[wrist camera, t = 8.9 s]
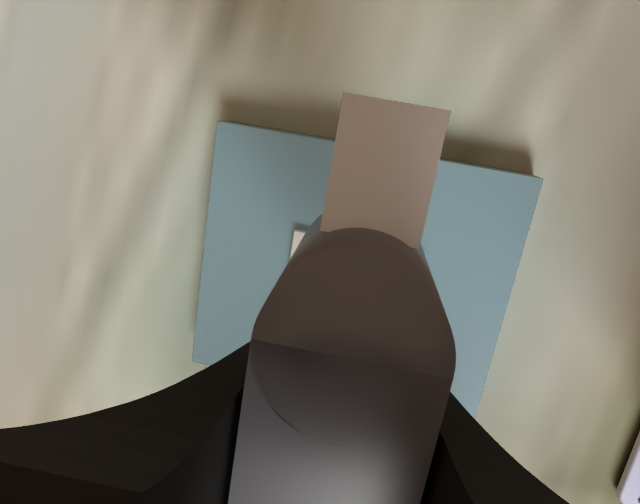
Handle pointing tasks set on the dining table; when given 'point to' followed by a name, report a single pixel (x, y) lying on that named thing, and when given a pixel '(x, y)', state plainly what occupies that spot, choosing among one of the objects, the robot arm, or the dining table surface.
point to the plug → (353, 330)
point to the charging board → (307, 205)
